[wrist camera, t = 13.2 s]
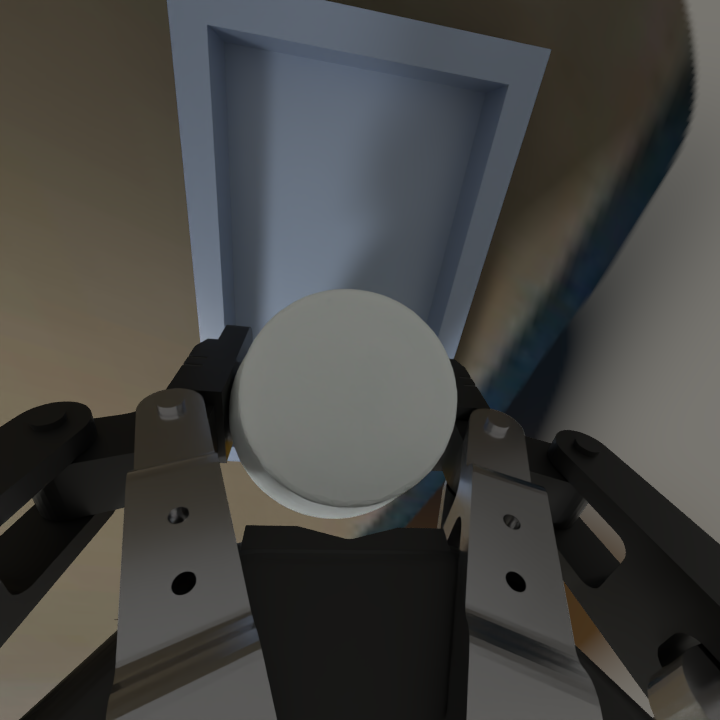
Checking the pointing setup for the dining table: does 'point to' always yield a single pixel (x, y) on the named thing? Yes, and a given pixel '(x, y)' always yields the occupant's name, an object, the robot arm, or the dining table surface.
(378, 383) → the supplement bottle
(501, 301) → the dining table surface
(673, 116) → the dining table surface
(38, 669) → the dining table surface
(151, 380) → the dining table surface
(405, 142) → the tray
